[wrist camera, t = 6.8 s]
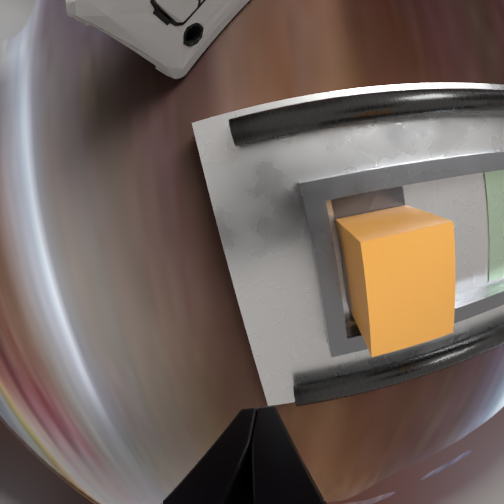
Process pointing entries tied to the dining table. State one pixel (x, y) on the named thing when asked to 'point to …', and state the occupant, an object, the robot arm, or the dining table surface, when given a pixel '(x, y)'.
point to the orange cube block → (399, 276)
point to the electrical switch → (160, 27)
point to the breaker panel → (348, 204)
